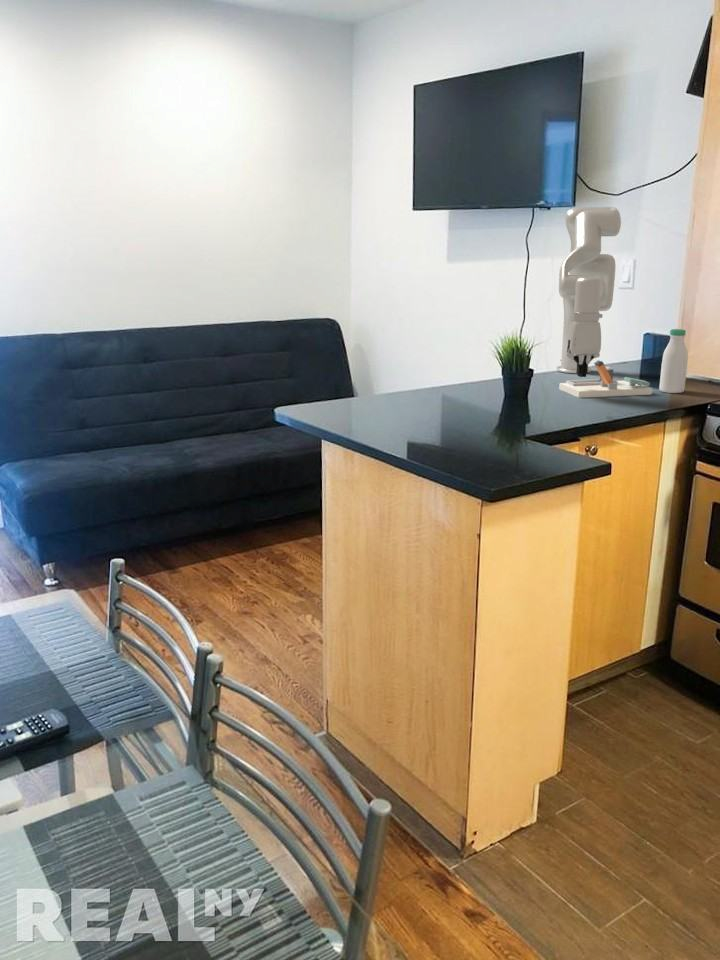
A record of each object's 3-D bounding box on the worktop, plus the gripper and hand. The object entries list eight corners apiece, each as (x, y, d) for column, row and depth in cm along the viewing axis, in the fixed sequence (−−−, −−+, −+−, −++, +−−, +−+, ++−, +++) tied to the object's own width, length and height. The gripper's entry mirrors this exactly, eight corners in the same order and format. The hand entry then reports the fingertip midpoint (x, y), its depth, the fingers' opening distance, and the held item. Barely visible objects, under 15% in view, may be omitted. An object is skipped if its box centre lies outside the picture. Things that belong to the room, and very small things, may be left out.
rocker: (622, 380, 264) (623, 376, 264) (641, 384, 266) (642, 380, 265) (630, 383, 259) (632, 379, 258) (650, 387, 260) (651, 383, 260)
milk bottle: (687, 393, 262) (694, 330, 256) (663, 393, 262) (670, 331, 256) (679, 389, 269) (685, 328, 263) (655, 389, 269) (661, 328, 264)
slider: (599, 381, 271) (600, 366, 270) (607, 381, 272) (609, 366, 270) (603, 383, 268) (605, 368, 267) (612, 383, 269) (613, 367, 267)
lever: (604, 384, 263) (593, 362, 260) (608, 381, 263) (597, 360, 260) (610, 386, 260) (599, 364, 257) (614, 384, 260) (603, 361, 257)
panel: (559, 389, 271) (559, 377, 270) (628, 386, 275) (629, 374, 274) (578, 397, 257) (579, 385, 255) (651, 394, 261) (652, 382, 260)
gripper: (602, 316, 258) (598, 373, 264) (558, 317, 256) (554, 375, 261) (613, 318, 251) (608, 377, 257) (568, 319, 249) (564, 379, 254)
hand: (581, 376), depth 259 cm, fingers closed
